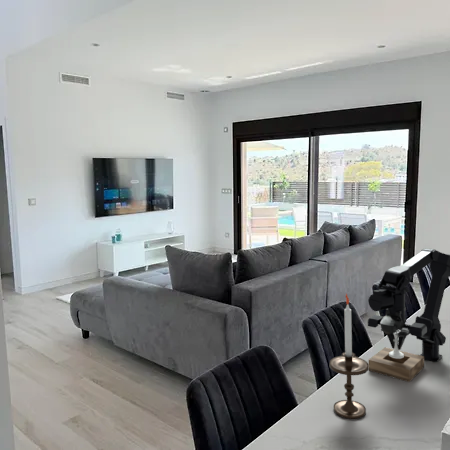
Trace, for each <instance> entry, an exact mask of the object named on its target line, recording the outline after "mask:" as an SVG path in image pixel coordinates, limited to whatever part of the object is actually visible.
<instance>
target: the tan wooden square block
mask: <svg viewBox="0 0 450 450" xmlns="http://www.w3.org/2000/svg"><path fill="white" fill-rule="evenodd" d="M393 350H394V349H393V348H391V347H387V346H385V347H383V348H381V349H380V350H379V351H378V352H377V353H375V354H374V355H372V357H370V358H368V361H367V362H368V371H369V372H373V373H375V372H376V374H380V375H382V374H383V375H384V376H386V375H387V376H386V377H390V378H393V377H394V379H397V380H400V379H401V381H404V382H408V383H410V382H412V381H413V379H414V378H415V377H416V376H417V375H418V374H419V373H420V372H421V371H422V370H423V369H424V368H425V359H424V356H420V354H414V353H411V352H406V351H403V350H399V351H400V352H402V353H403V354H404V358H401V359H396V358H392V357H390V356H389V353H390V352H391V351H393ZM383 375H382V376H383Z"/></svg>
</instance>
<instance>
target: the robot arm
mask: <svg viewBox="0 0 450 450" xmlns="http://www.w3.org/2000/svg"><path fill="white" fill-rule="evenodd" d="M428 265H429V270H430V273H431V280H430V284H429V289H428V293H427V297H426V301H425V305H424V310H423V313H422V314H420V315H419V316H418V315H417V316H416V317H415V322H413V323H412V324H407V318H406V311H407V307H406V293H409V292H410V289H408V287H407V286H408V285H409V284H410V283H411V281H412V278H413V276H414V275H415V274H417V273H418V272H419V271H421V270H422V269H424V268H425V267H426V266H428ZM383 274H384V275H383V276H382V278H381V280H380V282H379V284H378V286H377V289H376V290H373V291H372V294H371V295H369V297H368V306H369V308H370V309H371V310H372V311H374V312H379V311H383V310H385V315H384V316H381V315H376V314H375V315H372V316H370V317H369V318H368V319H367V327H370V328H377V327H378V326H379V325H380V328H381V329H380V330H381V332H384V333H385V334H386V337H387V338H388V341H389V343H390V346H391V349H394V346H395V341H393V339H395V338H394V335H393V333H396V330H399V332H397V333H398V336H399V338H398V339H399V341H398V350H399V351H401V349H402V347H403V345H404V343H405V340H406V338H407V336H409V335H411V336H413V337H415V338H416V339H417V340H419V341H421V353H420V354H419V355H420V356H424V360H427V361H432V362H437V363H438V362H439V361H440V359H442V357H443V355H442V354H440V346H444V344H445V343H446V340H447V337H446V336H445V335H444V334H443V333H442V332H441V328H442V325H441V321H440V318H439V315H440V310H441V306H442V303H443V302H442V301H443V298H444V293H445V290H446V285H447V281H448V279H449V278H450V254H448V253H444V252H440V251H439V250H436V249H434V248H433V249H432V248H423V249H421V251H420V252H419V253H417V254H416V255H414V256H413V257H411V258H410V259H408V260H407V261H405V262H404V263H403V264H401V265H397V266H393V267H391V268H388V269H386V270H385V272H384V273H383Z"/></svg>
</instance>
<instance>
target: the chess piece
mask: <svg viewBox="0 0 450 450" xmlns="http://www.w3.org/2000/svg"><path fill="white" fill-rule="evenodd" d="M399 332H400V330H396V332H395V333H393V335H394V338H395V339H393V341H395V346H394V350H393V351H391V352H390V353H389V356H390V357H392V358H396V359H401V358H404V354H403V353H402V352H400V351H401V350H398V341H399V336H398V333H399Z"/></svg>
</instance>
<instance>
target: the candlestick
mask: <svg viewBox="0 0 450 450" xmlns="http://www.w3.org/2000/svg"><path fill="white" fill-rule="evenodd" d="M345 298H346V299H345V300H346V303H345V304H346V306H345V308H344V352H342V353H341V355H339V356H335V357H333V358H331V359H330V360H329V369H330V370H331V371H333V372H334V373H337V374H340V375H345V376H346V383H344V385H343V387H344V389H345V390H346V392H345V393H344V395H345V396H346V399H342V400H338V401H337V402H335V403H334V404H333V412H334V413H335V414H336V415H337V416H338V417H341V418H342V419H347V420H359V419H362V418H364V417H365V416H366V413H367V412H366V411H367V409H366V407H365V405H364V404H362V403H361V402H358V401H356V400H353V397H354V392H353V390H354V389H355V385H354V384H353V383H352V376H359V375H363V374H366V373H368V371H369V362H368V361H366V360H365V359H363V358H361V357H359V356H357V354H356V353H354V352H353V334H352V330H353V329H352V328H353V327H352V309H351V308H350V305H349V303H350V299H349V297H348V293H345Z"/></svg>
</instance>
